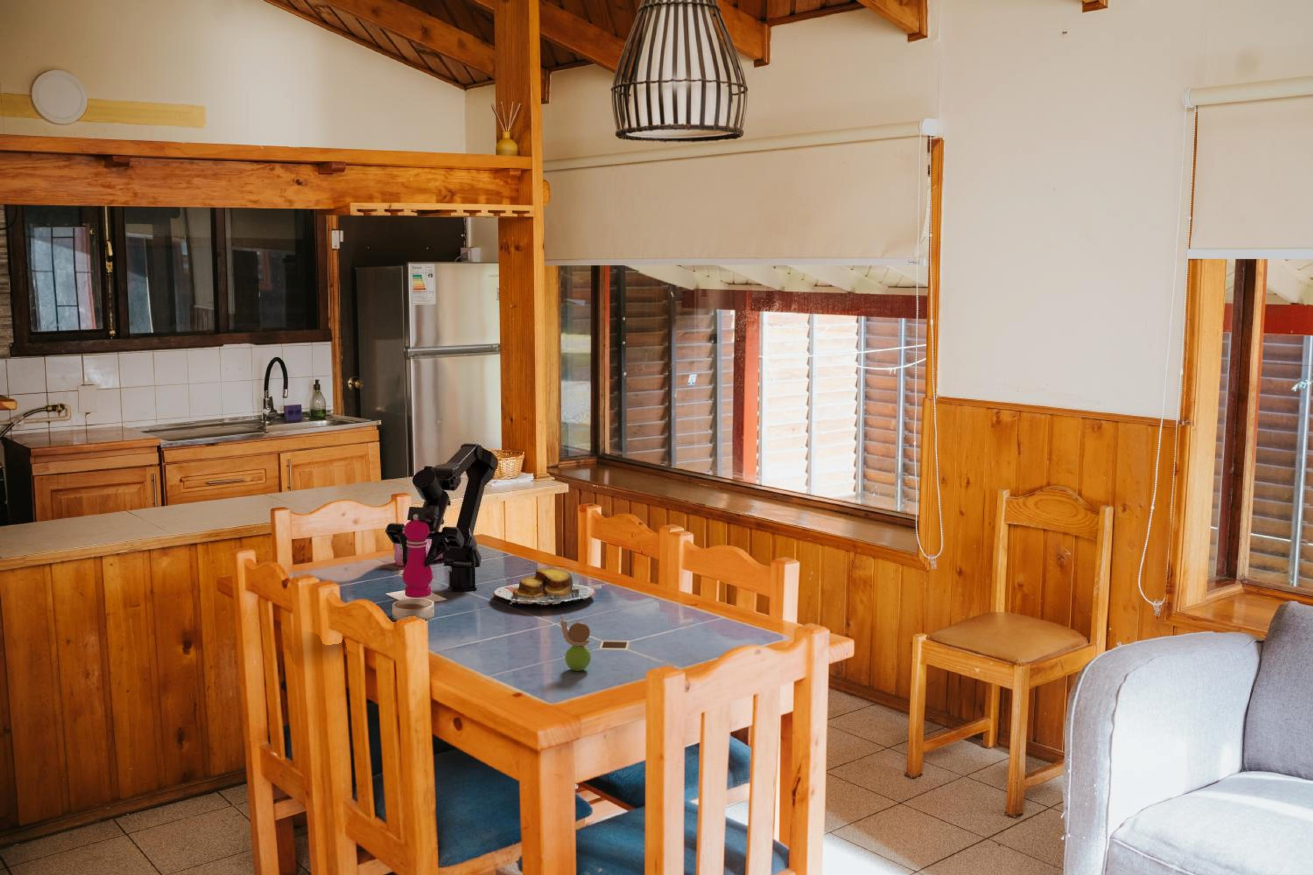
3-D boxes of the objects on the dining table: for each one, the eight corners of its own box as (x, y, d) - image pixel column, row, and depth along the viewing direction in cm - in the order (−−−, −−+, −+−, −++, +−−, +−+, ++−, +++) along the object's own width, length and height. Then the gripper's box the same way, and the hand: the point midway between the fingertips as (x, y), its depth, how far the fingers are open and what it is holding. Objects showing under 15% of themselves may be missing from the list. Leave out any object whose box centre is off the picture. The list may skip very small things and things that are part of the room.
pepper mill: (419, 600, 280) (418, 518, 277) (396, 595, 284) (394, 514, 281) (439, 592, 286) (438, 512, 283) (416, 588, 290) (415, 509, 287)
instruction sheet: (420, 588, 312) (420, 587, 312) (446, 599, 301) (446, 598, 301) (385, 594, 305) (385, 593, 305) (411, 606, 295) (411, 605, 295)
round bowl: (430, 608, 293) (430, 596, 292) (437, 619, 283) (437, 607, 283) (390, 612, 289) (389, 599, 289) (395, 623, 280) (394, 610, 280)
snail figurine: (560, 666, 251) (560, 611, 250) (590, 665, 252) (590, 611, 250) (560, 674, 246) (560, 618, 244) (591, 674, 246) (591, 618, 245)
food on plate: (473, 604, 298) (473, 579, 297) (530, 583, 320) (530, 559, 319) (560, 619, 286) (560, 592, 285) (613, 595, 308) (613, 570, 307)
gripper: (387, 490, 287) (367, 545, 278) (458, 494, 283) (440, 550, 274) (402, 515, 296) (383, 569, 287) (471, 520, 292) (454, 574, 283)
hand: (414, 565), depth 283 cm, fingers closed on pepper mill, 5 cm apart
